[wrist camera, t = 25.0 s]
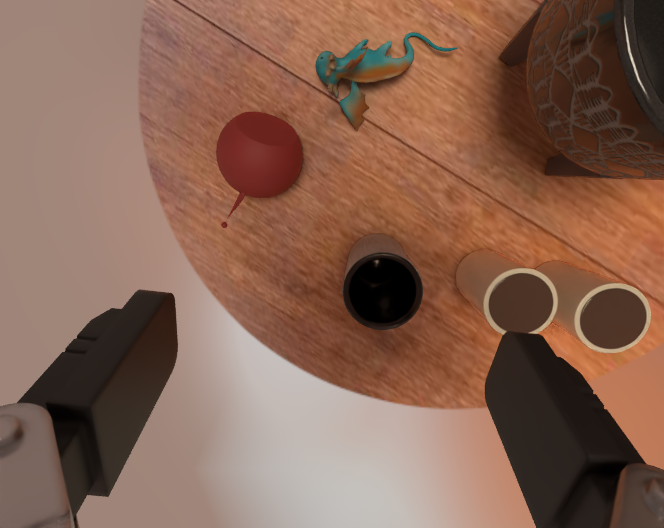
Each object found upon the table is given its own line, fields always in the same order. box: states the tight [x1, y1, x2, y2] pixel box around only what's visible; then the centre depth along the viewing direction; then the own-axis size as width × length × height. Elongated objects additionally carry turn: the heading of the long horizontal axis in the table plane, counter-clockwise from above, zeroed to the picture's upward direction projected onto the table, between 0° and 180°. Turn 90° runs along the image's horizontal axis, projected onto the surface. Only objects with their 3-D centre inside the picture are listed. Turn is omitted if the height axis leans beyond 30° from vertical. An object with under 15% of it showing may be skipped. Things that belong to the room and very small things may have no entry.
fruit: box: [216, 112, 303, 228], centre depth 31 cm, size 6×6×8 cm
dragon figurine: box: [316, 33, 457, 131], centre depth 30 cm, size 7×7×8 cm
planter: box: [499, 0, 664, 180], centre depth 22 cm, size 13×13×18 cm
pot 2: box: [535, 261, 651, 353], centre depth 29 cm, size 4×4×8 cm
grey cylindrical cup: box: [342, 234, 423, 330], centre depth 29 cm, size 4×4×10 cm
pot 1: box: [455, 249, 558, 335], centre depth 30 cm, size 4×4×8 cm
